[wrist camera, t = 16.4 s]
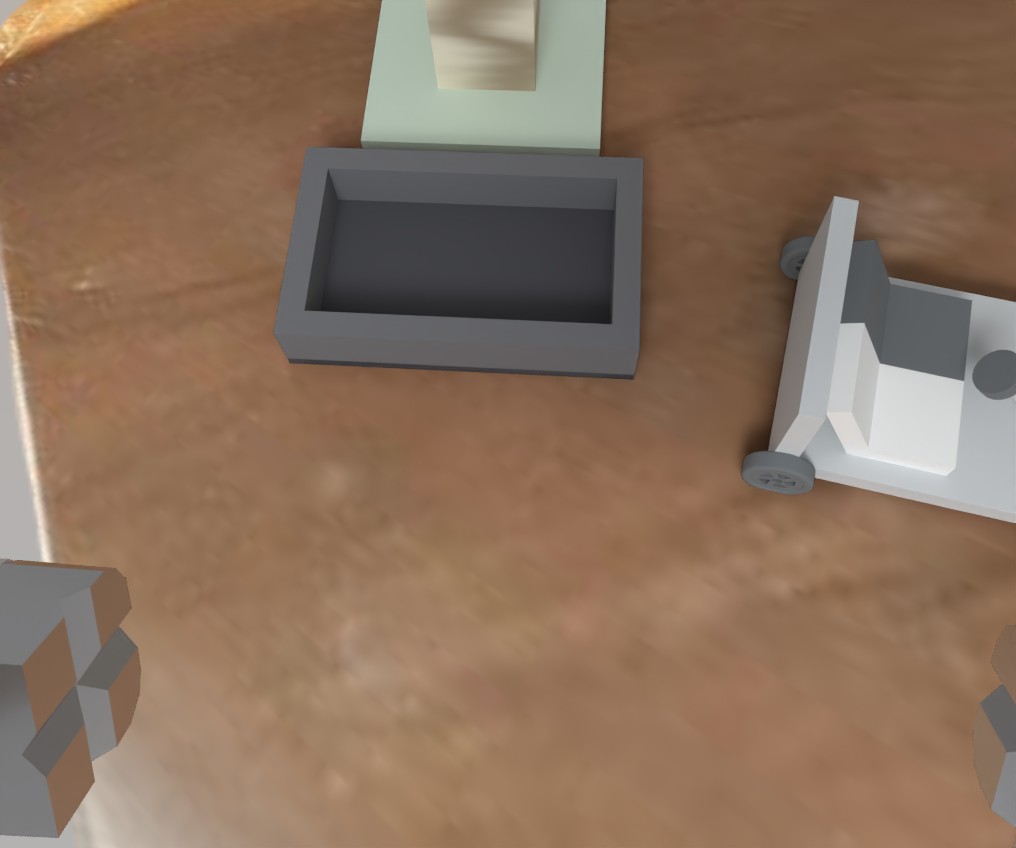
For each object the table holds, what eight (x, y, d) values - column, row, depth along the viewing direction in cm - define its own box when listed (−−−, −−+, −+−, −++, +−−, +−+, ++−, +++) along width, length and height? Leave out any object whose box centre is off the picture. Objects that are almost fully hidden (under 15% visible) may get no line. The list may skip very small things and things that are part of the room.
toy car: (1328, 221, 35) (1344, 518, 31) (1168, 342, 45) (1164, 584, 41) (831, 131, 38) (786, 396, 34) (775, 263, 47) (735, 485, 43)
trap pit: (638, 196, 48) (643, 158, 45) (633, 379, 44) (639, 350, 42) (320, 184, 49) (306, 146, 46) (289, 363, 45) (273, 333, 43)
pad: (606, -19, 53) (607, -34, 53) (598, 161, 49) (600, 148, 48) (390, -24, 54) (388, -39, 53) (364, 153, 50) (360, 140, 49)
